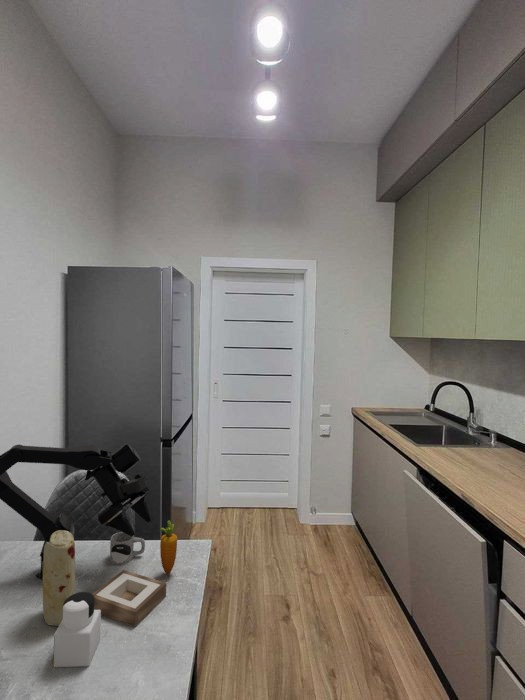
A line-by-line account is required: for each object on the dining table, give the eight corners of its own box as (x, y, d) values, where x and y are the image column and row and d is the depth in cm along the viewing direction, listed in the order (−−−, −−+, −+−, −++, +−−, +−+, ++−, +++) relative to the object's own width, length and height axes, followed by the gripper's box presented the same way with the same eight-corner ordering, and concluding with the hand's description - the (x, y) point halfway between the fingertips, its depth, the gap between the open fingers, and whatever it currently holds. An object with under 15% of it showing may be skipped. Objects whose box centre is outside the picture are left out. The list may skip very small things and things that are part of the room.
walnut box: (89, 609, 96) (89, 596, 96) (123, 582, 108) (123, 569, 108) (135, 627, 91) (135, 612, 91) (165, 596, 103) (166, 583, 102)
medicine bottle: (67, 641, 87) (68, 587, 86) (100, 640, 87) (101, 587, 87) (52, 668, 79) (54, 610, 79) (89, 667, 80) (90, 609, 80)
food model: (79, 622, 92) (81, 538, 92) (48, 636, 88) (50, 548, 87) (68, 600, 99) (69, 522, 99) (38, 612, 95) (39, 530, 94)
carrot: (172, 581, 109) (173, 528, 108) (155, 578, 110) (157, 525, 109) (179, 571, 114) (181, 520, 113) (163, 568, 115) (165, 517, 114)
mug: (108, 565, 115) (108, 543, 115) (111, 553, 122) (112, 532, 121) (143, 562, 117) (144, 540, 117) (145, 550, 124) (145, 529, 124)
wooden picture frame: (95, 606, 97) (95, 595, 97) (123, 583, 106) (123, 573, 106) (134, 621, 93) (135, 608, 93) (160, 596, 102) (160, 584, 102)
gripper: (112, 476, 103) (146, 526, 101) (146, 458, 122) (176, 499, 120) (82, 501, 105) (115, 550, 103) (121, 479, 123) (149, 520, 121)
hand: (142, 528), depth 112 cm, fingers open, 9 cm apart
